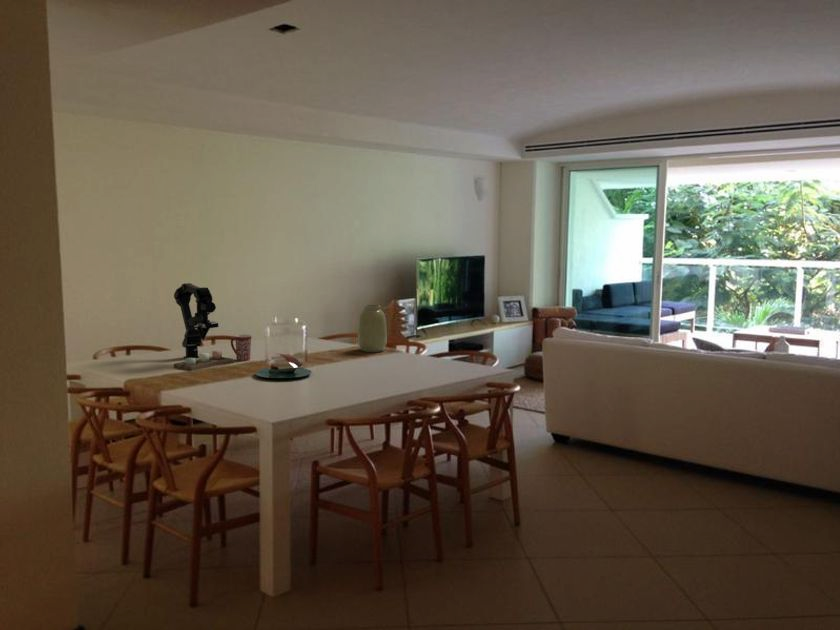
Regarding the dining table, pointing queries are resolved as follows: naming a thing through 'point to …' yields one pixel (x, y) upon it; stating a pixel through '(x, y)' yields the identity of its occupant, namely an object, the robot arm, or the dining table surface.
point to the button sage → (190, 361)
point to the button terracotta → (216, 355)
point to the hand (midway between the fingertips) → (202, 339)
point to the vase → (372, 329)
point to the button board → (203, 364)
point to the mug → (242, 347)
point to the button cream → (203, 357)
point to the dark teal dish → (284, 369)
